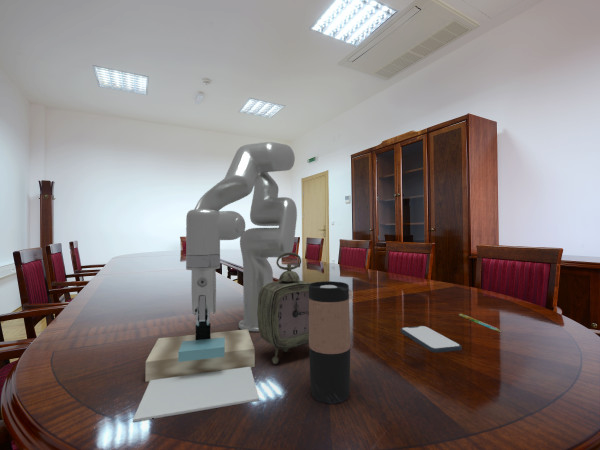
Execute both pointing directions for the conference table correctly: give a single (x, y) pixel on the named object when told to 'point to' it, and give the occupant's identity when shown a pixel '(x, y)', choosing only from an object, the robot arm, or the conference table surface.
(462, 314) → the pencil
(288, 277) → the tabletop clock
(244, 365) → the beige flat block
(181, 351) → the blue rectangular block
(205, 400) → the mat
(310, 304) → the travel mug
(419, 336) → the phone case
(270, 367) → the conference table surface
